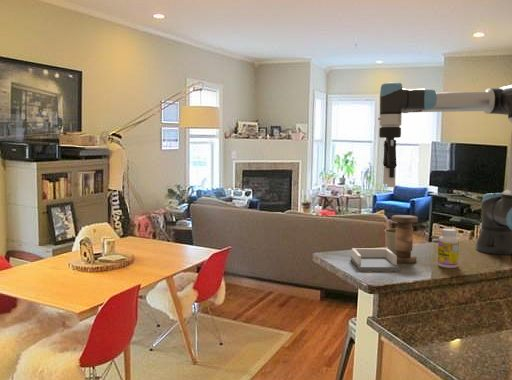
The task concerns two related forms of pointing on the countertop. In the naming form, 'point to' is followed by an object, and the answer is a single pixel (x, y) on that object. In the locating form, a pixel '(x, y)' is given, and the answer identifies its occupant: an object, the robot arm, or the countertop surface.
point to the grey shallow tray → (375, 259)
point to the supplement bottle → (448, 248)
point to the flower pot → (391, 239)
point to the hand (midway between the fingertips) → (388, 185)
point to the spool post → (404, 238)
